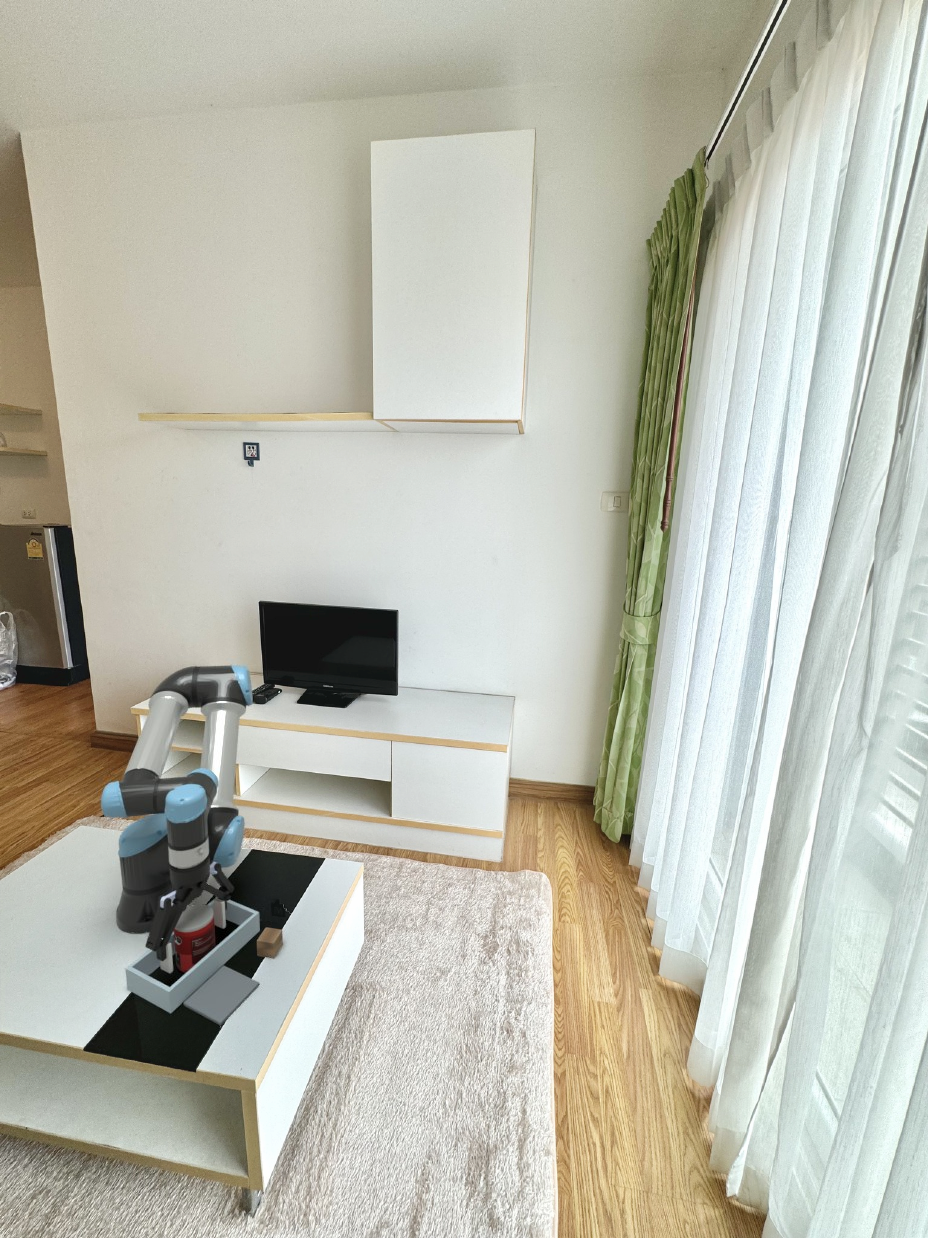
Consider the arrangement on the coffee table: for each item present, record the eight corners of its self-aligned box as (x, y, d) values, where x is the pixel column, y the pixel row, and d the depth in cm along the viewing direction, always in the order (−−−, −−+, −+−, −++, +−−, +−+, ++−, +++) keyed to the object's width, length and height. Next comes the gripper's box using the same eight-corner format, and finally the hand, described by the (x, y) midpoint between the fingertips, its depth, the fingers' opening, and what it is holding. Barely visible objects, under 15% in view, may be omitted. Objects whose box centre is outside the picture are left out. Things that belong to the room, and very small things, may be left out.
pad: (183, 1005, 107) (183, 1003, 107) (223, 967, 116) (223, 965, 116) (220, 1025, 103) (220, 1023, 103) (259, 985, 112) (259, 982, 112)
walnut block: (257, 956, 120) (256, 940, 119) (266, 942, 123) (265, 927, 123) (274, 959, 119) (273, 943, 118) (282, 945, 123) (282, 930, 122)
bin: (127, 989, 110) (125, 968, 109) (220, 913, 131) (219, 895, 130) (170, 1013, 105) (169, 992, 104) (259, 930, 127) (259, 912, 126)
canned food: (184, 946, 121) (181, 904, 119) (221, 945, 122) (219, 903, 120) (169, 975, 114) (165, 930, 112) (208, 974, 114) (205, 929, 112)
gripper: (146, 901, 100) (154, 998, 104) (248, 833, 123) (251, 914, 127) (119, 889, 103) (128, 984, 107) (223, 824, 126) (227, 905, 130)
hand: (195, 947), depth 117 cm, fingers open, 13 cm apart
